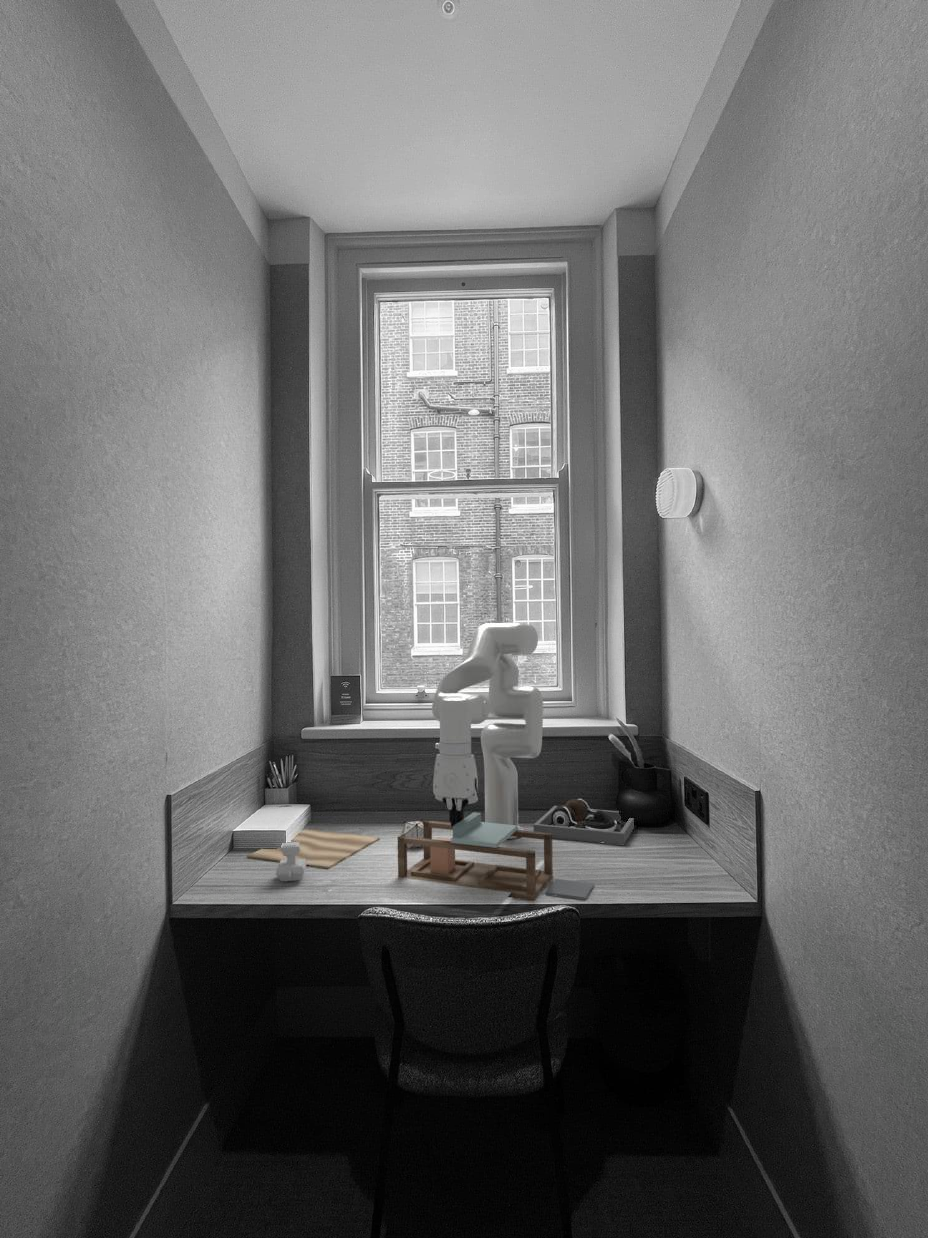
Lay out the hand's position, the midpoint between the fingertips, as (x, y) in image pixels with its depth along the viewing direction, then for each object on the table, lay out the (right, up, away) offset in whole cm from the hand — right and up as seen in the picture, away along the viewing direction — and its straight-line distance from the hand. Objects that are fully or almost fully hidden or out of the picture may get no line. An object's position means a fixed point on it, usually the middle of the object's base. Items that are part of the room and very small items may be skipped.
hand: (456, 825), depth 173 cm
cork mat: (-39, -13, +23) cm, 47 cm away
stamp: (-40, -13, 0) cm, 42 cm away
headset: (+38, -12, +38) cm, 55 cm away
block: (-3, -11, +1) cm, 12 cm away
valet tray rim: (+38, -12, +38) cm, 54 cm away
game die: (-11, -13, +21) cm, 27 cm away
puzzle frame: (+4, -12, -2) cm, 13 cm away
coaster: (+26, -12, -10) cm, 30 cm away
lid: (+7, -2, -3) cm, 8 cm away
